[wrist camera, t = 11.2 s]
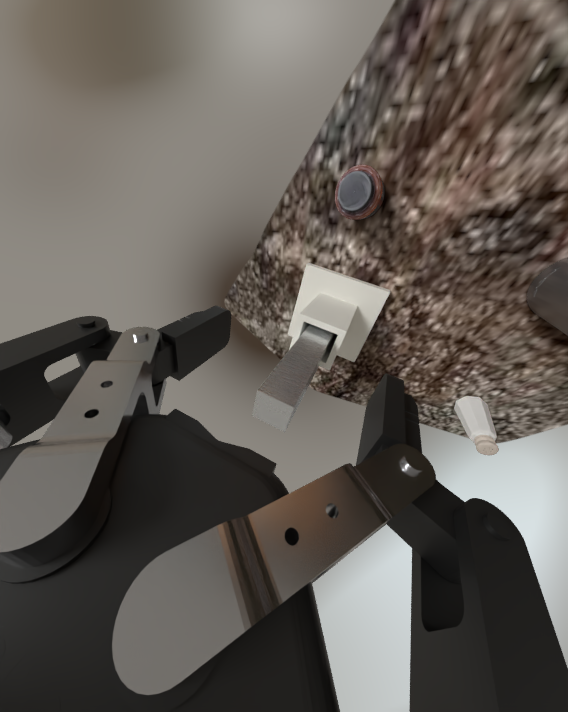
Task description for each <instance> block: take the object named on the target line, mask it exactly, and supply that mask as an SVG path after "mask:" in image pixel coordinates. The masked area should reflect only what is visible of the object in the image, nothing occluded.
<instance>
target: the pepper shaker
mask: <svg viewBox="0 0 568 712" xmlns="http://www.w3.org/2000/svg"><path fill="white" fill-rule="evenodd" d="M454 409H455V411H456V413H457V415H458V417H459V419H460V421H461V423H462V425H463V427H464V429H465V431H466V433H467V435H468V437H469V438H470V439H471V440H472V441H473V442H474V443H475V445H476V449H477V451H478V452H480V453H481V454H484V455H494V454H496V453H497V452H498V450H499V449H498V446H497V445H496V443H495V440H496V438H497V436H496V432H495V428H494V425H493V421H492V418H491V414H490V411H489V408H488V404H487V403H486V402H484V401H483V400H482V399H481V398H480V397H472V396H465V397H463V398H461V399H459V400H457V401H456V403H455V407H454Z"/></svg>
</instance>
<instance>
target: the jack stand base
mask: <svg viewBox="0 0 568 712" xmlns="http://www.w3.org/2000/svg"><path fill="white" fill-rule="evenodd" d="M389 294H390V290H388V289H385V288H382V287H379V286H376V285H373V284H370V283H367V282H364V281H361V280H358V279H356V278H353V277H350V276H347V275H344V274H341V273H338V272H335V271H332V270H329V269H326V268H323V267H320V266H317V265H314V264H311V263H308V264H307V265H306V268H305V272H304V276H303V279H302V283H301V287H300V291H299V294H298V298H297V302H296V306H295V309H294V313H293V317H292V321H291V324H290V328H289V332H288V335H289V336H292V337H293V338H292V342H291V345H290V349H291V347H292V346H293V345H294V344H295V342H296V341H297V340H298V339H299V337H300V336H301V335H302V334H303V332H304V331H305V330H306V329H307V327H308V326H309V325H310V324H312V325H314V326H317V327H319V328H322V329H324V330H327V331H330V332H332V333H334V336H333V338H332V341H331V343H330V345H329V347H328V349H327V351H326V353H325V355H324V357H323V359H322V361H321V363H320V365H319V366H320V367H323V368H325V369H327V370H330V369H331V366H332V364H333V362H334V359H335V357H336V355H338V356H340V357H342V358H345V359H347V360H350V361H352V362H355V360H356V358H357V356H358V354H359V352H360V350H361V349H362V347H363V345H364V343H365V341H366V339H367V337H368V335H369V333H370V331H371V329H372V327H373V325H374V323H375V321H376V319H377V317H378V315H379V313H380V311H381V309H382V307H383V305H384V303H385V301H386V299H387V298H388V296H389ZM290 349H289V350H290Z"/></svg>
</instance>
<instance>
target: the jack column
mask: <svg viewBox="0 0 568 712" xmlns="http://www.w3.org/2000/svg"><path fill="white" fill-rule="evenodd" d="M333 336H334V333H332V332H330V331H327V330H324V329H322V328H319V327H317V326H314V325H312V324H310V325H309V326H308V327H307V329H306V330H305V331H304V332H303V334H302V335H301V336H300V337H299V339H298V340H297V341H296V342H295V344H294V345H293V346H292V347H291V349H290V350H289V351H288V352H287V354H286V355H285V356H284V357H283V359H282V360H281V361H280V362H279V364H278V365H277V366H276V367H275V369H274V370H273V371H272V372H271V374H270V375H269V376H268V378H267V379H266V380H265V381H264V383H263V384H262V385H261V386H260V388H259V389H258V390H257V395H256V400H255V404H254V409H253V413H252V416H254V417H255V418H257V419H259V420H261V421H263V422H265V423H267V424H269V425H271V426H274V427H275V428H277V429H279V430H281V431H283V432H285V431H286V429H287V427H288V425H289V423H290V421H291V419H292V417H293V415H294V413H295V411H296V409H297V407H298V405H299V404H300V402H301V400H302V398H303V396H304V394H305V392H306V390H307V388H308V386H309V384H310V382H311V380H312V378H313V376H314V374H315V372H316V370H317V368H318V366H319V365H320V363H321V361H322V359H323V357H324V355H325V353H326V351H327V349H328V347H329V345H330V343H331V341H332V338H333Z"/></svg>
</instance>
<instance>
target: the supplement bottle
mask: <svg viewBox="0 0 568 712" xmlns="http://www.w3.org/2000/svg"><path fill="white" fill-rule="evenodd" d="M384 194H385V189H384V184H383V182H382V180H381V177H380V175H379V174H378V172H377V171H376V170H375V169H374V168H372V167H371V166H368V165H357V166H354V167H352V168H350V169H349V170H348V171H346V172H345V173H344V175H343V176H342V177H341V179H340V180H339V182H338V184H337V187H336V192H335V202H336V206H337V208H338V210H339V212H340V213H341V214H342V215H343V216H344V217H346V218H348V219H353V220H358V219H365V218H368V217H370V216H372V215H373V214H375V213H376V212H377V210H378V209H379V208H380V206H381V204H382V202H383V199H384Z"/></svg>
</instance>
